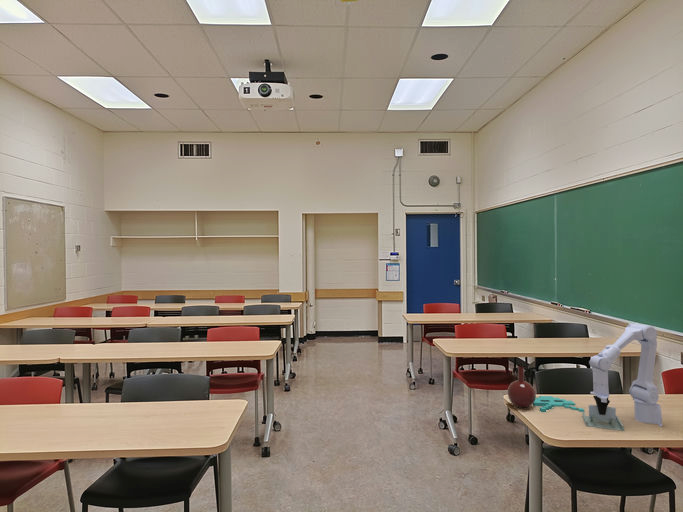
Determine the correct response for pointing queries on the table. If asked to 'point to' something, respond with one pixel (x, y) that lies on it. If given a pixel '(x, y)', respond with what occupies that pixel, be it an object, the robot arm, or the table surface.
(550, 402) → the teal pixel shape
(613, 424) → the rack
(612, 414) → the long pale grey plank
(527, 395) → the round-bottom flask
